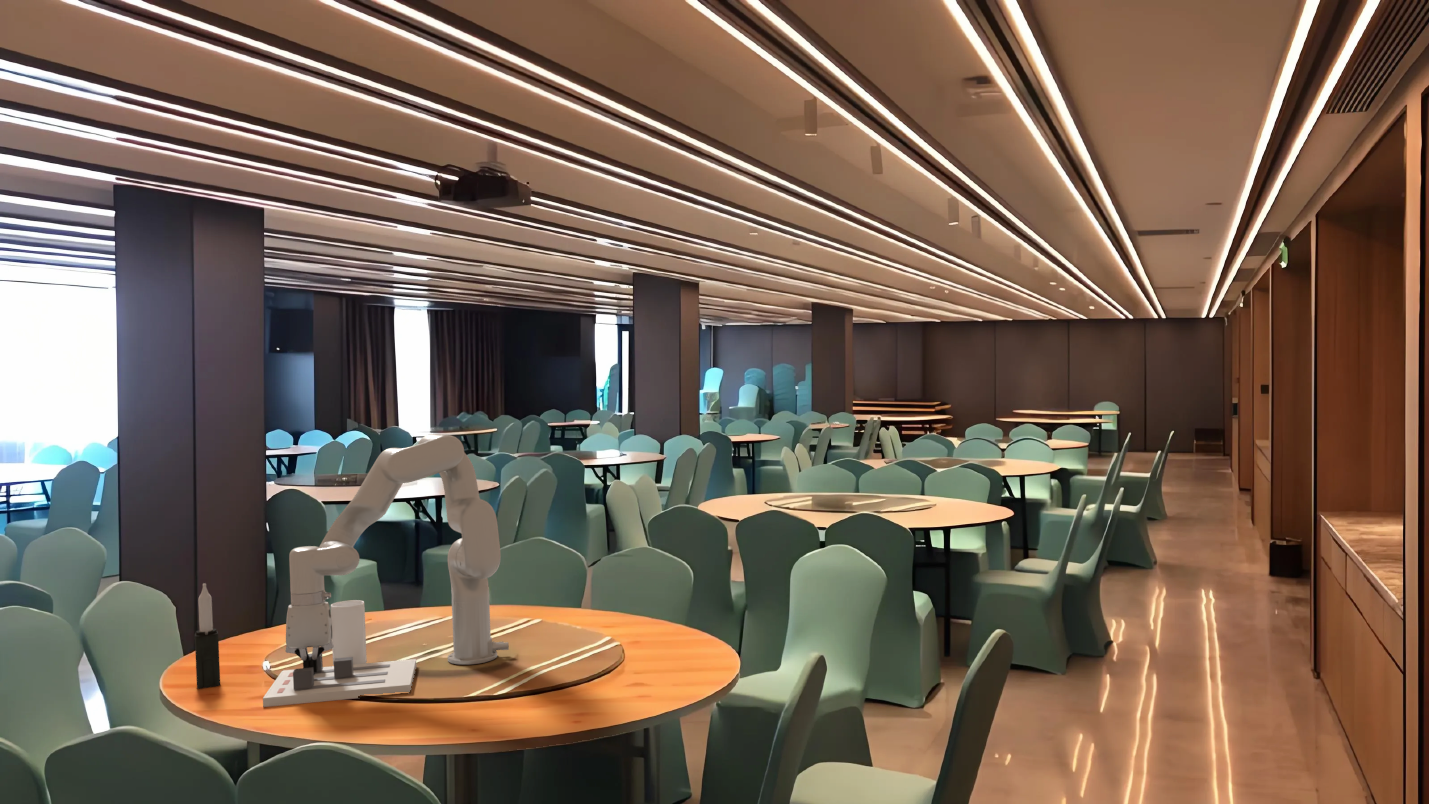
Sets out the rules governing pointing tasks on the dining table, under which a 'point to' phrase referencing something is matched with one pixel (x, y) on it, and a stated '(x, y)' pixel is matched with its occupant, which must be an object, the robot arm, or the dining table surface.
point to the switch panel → (339, 682)
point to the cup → (349, 630)
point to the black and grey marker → (206, 645)
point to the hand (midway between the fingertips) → (310, 675)
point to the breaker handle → (343, 667)
